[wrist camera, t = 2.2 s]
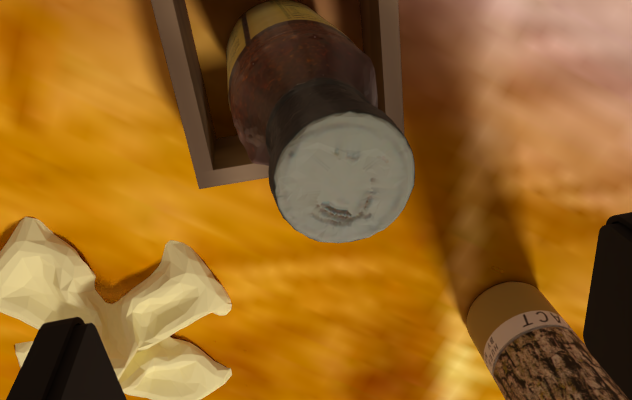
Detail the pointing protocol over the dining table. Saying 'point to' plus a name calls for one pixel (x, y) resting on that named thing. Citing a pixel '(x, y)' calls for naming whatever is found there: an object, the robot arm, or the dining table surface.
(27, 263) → the cloth
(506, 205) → the dining table surface
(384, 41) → the holder
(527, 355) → the bark textured cylinder
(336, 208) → the sauce bottle
